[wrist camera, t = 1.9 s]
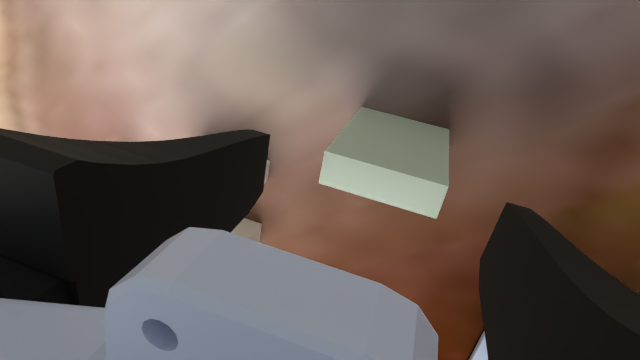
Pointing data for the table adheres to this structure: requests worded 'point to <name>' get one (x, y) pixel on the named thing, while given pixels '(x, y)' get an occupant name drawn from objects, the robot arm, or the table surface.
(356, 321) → the robot arm
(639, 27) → the table surface
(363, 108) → the green flat block
